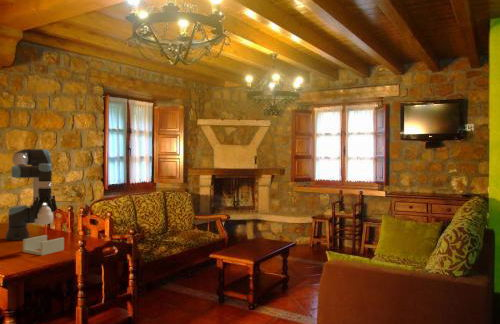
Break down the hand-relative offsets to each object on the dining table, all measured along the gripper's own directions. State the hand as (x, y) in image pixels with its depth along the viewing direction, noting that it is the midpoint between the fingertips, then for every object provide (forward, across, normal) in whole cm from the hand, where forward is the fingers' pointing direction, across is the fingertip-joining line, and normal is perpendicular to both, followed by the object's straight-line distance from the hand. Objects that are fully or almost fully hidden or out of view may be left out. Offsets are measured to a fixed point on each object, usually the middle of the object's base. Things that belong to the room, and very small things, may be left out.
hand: (44, 222), depth 260 cm
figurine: (+2, 0, 0) cm, 2 cm away
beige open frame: (+18, 0, 0) cm, 18 cm away
